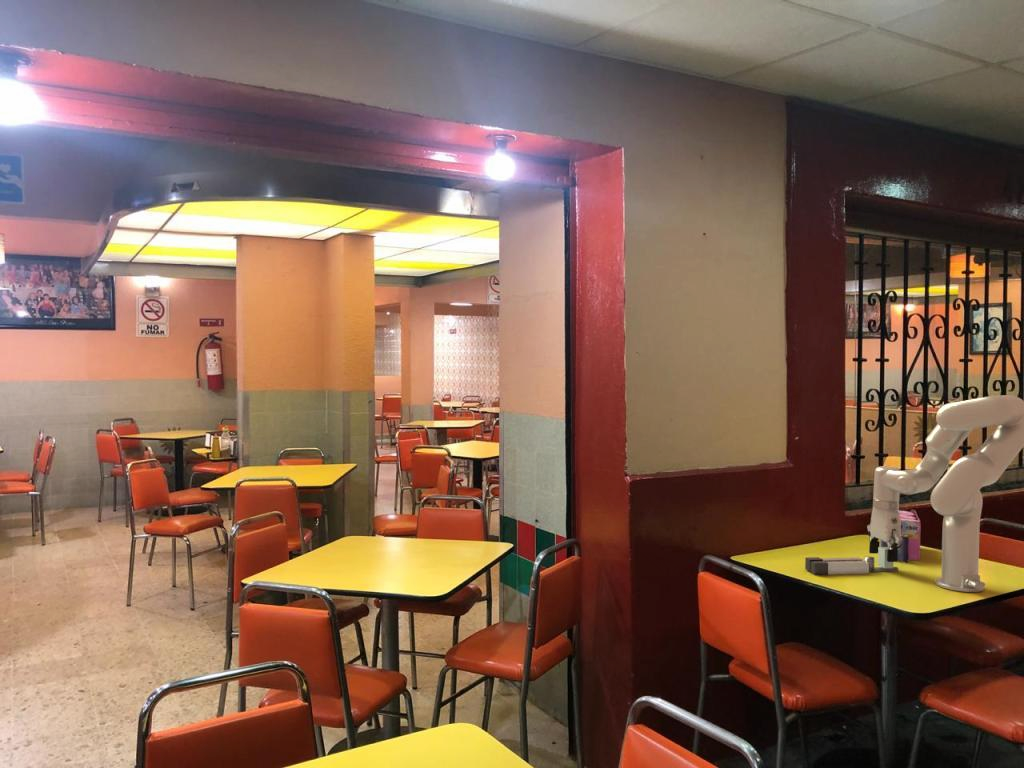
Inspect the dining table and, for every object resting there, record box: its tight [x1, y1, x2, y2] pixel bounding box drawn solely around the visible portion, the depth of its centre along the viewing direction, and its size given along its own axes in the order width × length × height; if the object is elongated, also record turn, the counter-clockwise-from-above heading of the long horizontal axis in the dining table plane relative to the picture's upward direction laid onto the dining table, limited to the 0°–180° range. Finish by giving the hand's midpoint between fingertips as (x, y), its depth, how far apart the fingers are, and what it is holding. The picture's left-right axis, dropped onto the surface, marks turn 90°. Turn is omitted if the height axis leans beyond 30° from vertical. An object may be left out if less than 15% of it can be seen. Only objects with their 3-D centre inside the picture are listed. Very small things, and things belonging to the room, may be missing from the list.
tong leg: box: [804, 556, 864, 572], centre depth 246 cm, size 3×18×4 cm, turn 97°
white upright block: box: [877, 546, 894, 568], centre depth 246 cm, size 4×3×6 cm
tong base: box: [809, 556, 899, 576], centre depth 244 cm, size 4×30×4 cm, turn 97°
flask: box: [879, 534, 909, 564], centre depth 260 cm, size 9×3×11 cm, turn 41°
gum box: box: [898, 509, 922, 562], centre depth 272 cm, size 24×8×14 cm, turn 156°
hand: (882, 557), depth 247 cm, fingers open, 9 cm apart
